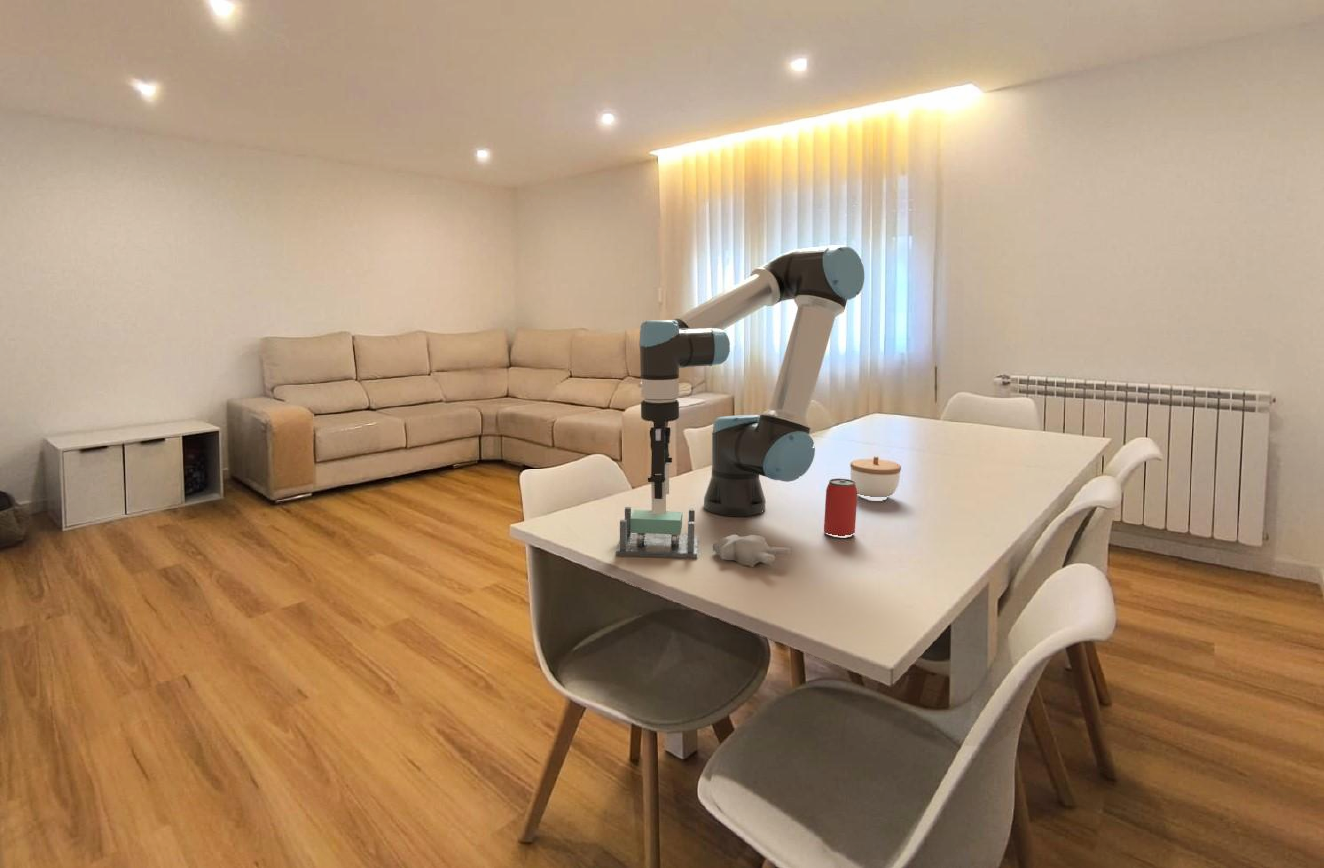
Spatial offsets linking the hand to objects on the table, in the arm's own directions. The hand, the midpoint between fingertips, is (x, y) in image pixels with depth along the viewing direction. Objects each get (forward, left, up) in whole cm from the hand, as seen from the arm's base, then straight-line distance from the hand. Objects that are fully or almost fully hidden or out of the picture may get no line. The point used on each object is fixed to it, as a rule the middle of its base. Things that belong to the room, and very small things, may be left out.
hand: (660, 503), depth 138 cm
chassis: (0, 0, -9) cm, 9 cm away
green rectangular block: (+1, 0, -5) cm, 5 cm away
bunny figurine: (-18, +6, -10) cm, 21 cm away
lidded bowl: (-54, -43, -10) cm, 69 cm away
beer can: (-39, -12, -10) cm, 41 cm away
